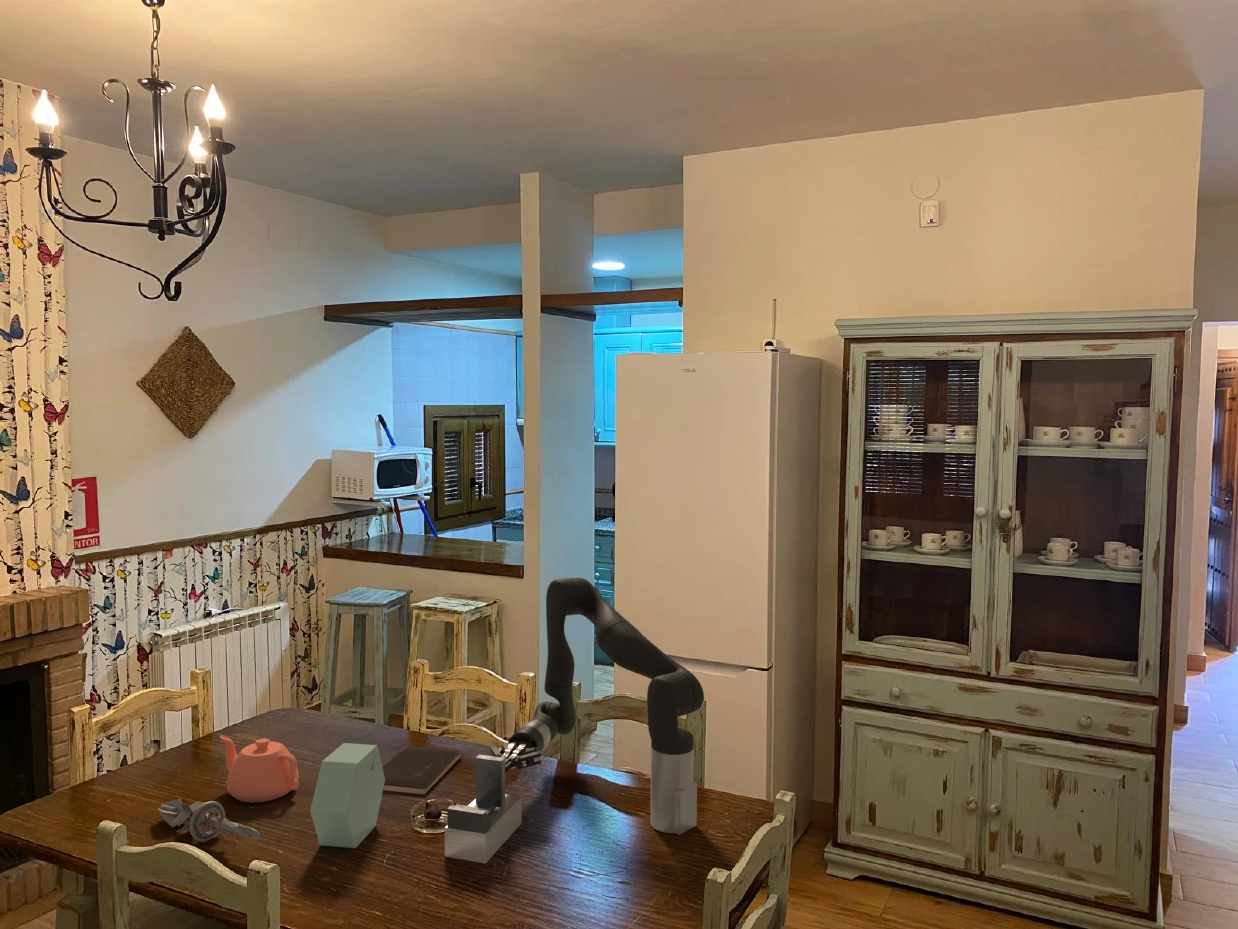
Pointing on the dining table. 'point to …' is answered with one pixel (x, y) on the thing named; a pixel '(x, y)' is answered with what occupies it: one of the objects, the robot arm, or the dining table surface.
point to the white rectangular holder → (480, 829)
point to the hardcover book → (417, 768)
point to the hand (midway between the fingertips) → (499, 770)
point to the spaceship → (204, 820)
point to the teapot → (260, 771)
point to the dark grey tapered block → (490, 782)
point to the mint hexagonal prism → (348, 795)
